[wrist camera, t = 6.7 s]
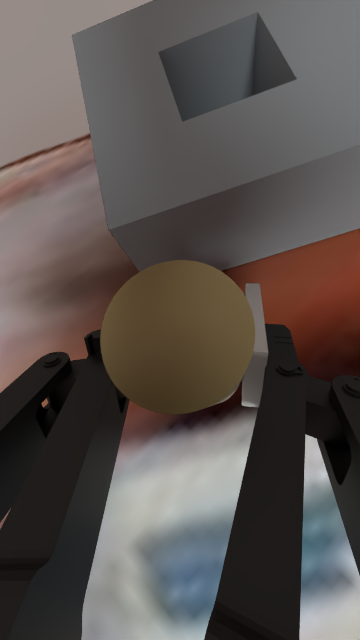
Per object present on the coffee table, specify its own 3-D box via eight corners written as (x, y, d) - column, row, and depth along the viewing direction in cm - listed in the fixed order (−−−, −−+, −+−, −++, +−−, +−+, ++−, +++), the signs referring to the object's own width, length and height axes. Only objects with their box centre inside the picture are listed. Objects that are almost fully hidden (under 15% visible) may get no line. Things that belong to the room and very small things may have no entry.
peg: (230, 337, 19) (227, 241, 7) (248, 395, 17) (279, 389, 6) (175, 352, 19) (91, 284, 8) (189, 410, 18) (112, 432, 6)
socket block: (286, 79, 24) (311, -67, 16) (368, 225, 19) (458, 111, 11) (119, 142, 26) (71, 35, 18) (153, 291, 21) (108, 229, 13)
